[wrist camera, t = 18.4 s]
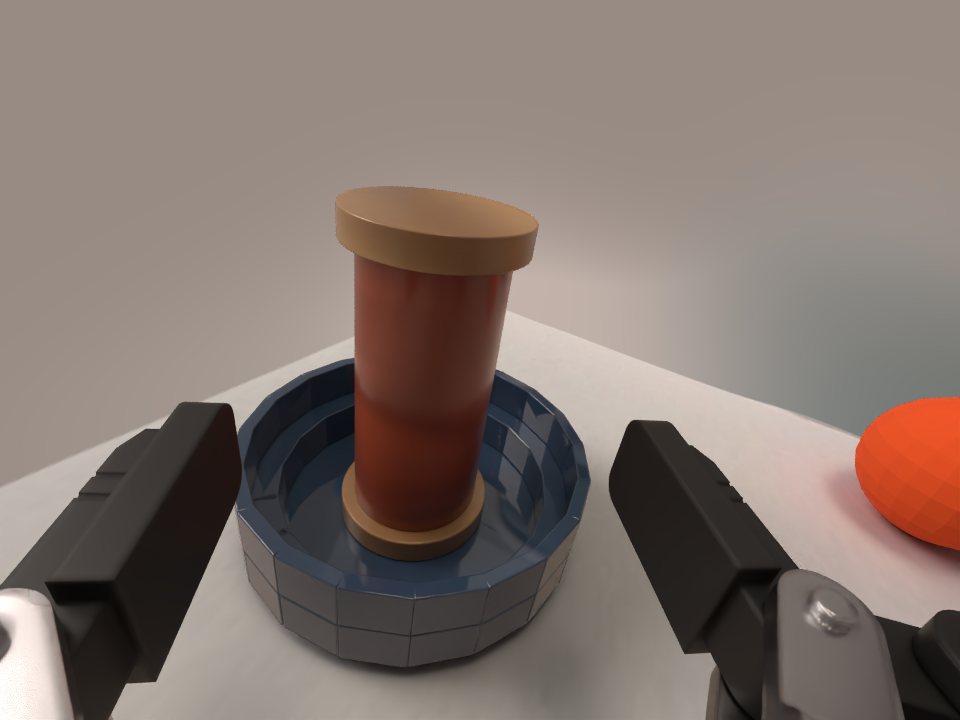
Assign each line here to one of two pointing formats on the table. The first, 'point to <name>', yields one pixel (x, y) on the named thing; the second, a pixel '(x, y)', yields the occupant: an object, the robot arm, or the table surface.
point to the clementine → (915, 468)
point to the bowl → (395, 583)
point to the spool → (424, 359)
